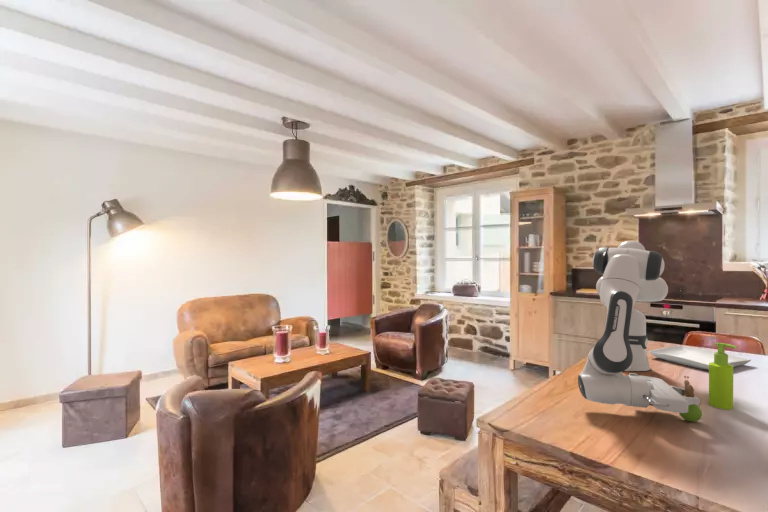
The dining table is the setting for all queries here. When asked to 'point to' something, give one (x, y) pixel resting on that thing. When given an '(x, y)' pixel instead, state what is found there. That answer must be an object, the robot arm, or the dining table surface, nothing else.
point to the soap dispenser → (721, 379)
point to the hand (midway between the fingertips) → (693, 396)
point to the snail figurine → (693, 410)
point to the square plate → (693, 356)
